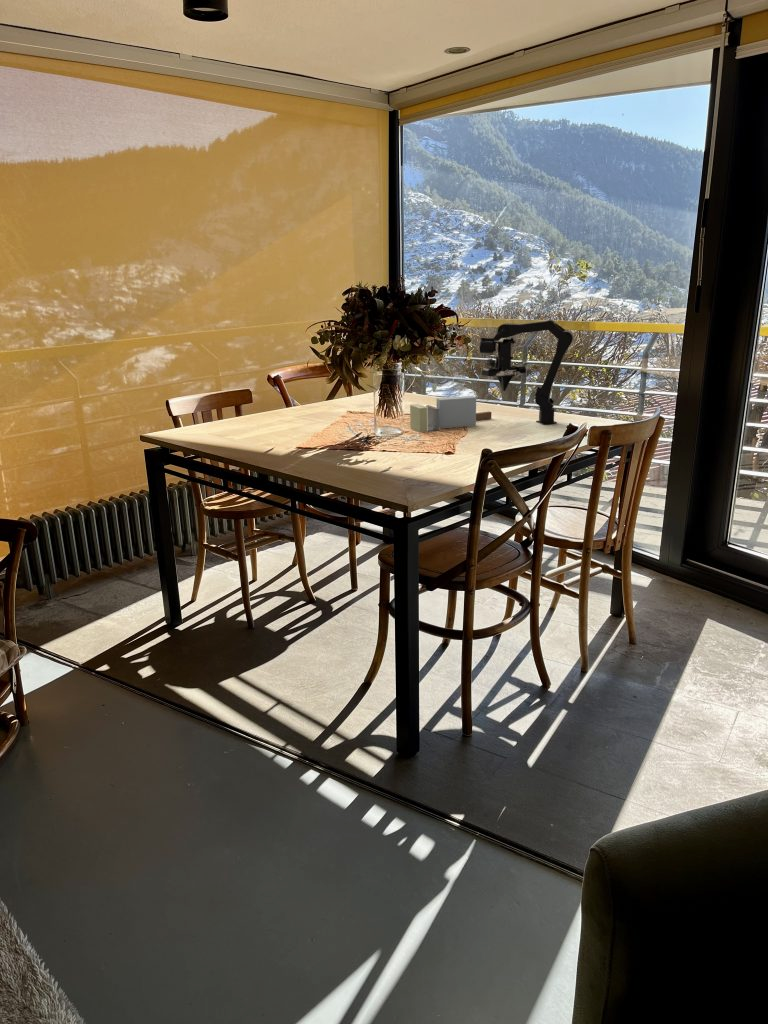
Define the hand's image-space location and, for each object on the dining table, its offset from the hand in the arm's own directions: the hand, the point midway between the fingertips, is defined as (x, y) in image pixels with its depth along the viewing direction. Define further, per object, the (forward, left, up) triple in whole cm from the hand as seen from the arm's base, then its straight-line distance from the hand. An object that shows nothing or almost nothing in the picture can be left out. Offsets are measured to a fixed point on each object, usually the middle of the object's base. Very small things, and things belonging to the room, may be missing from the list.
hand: (503, 390), depth 331 cm
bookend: (+2, +36, -13) cm, 38 cm away
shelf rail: (+8, +17, -13) cm, 23 cm away
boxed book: (+2, +22, -13) cm, 26 cm away
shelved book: (+2, +39, -13) cm, 42 cm away
